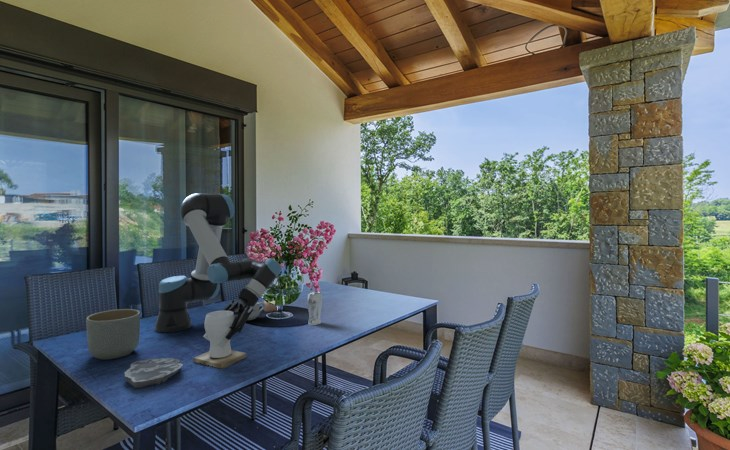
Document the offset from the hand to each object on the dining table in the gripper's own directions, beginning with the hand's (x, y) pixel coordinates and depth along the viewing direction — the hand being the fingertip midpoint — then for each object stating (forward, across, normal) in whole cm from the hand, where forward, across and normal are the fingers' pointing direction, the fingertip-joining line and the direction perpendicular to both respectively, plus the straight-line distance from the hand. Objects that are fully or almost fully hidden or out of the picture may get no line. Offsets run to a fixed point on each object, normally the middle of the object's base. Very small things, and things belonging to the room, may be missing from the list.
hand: (212, 342), depth 140 cm
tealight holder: (-33, +48, -44) cm, 73 cm away
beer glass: (-34, +12, -45) cm, 58 cm away
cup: (+2, 0, -6) cm, 6 cm away
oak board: (+3, 0, -7) cm, 8 cm away
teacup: (-22, +40, -32) cm, 56 cm away
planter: (+22, +32, +12) cm, 40 cm away
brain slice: (+19, +2, +8) cm, 20 cm away
